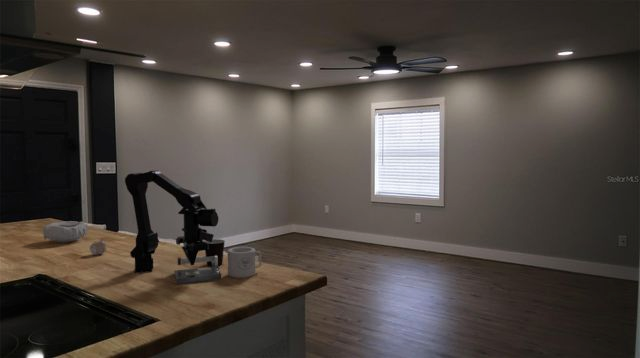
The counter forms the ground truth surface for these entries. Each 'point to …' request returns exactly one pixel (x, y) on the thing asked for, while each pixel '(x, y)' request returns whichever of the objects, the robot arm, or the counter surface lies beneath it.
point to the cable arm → (201, 260)
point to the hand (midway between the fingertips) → (192, 265)
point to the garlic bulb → (98, 247)
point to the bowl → (65, 231)
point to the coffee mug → (215, 250)
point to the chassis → (197, 275)
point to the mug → (242, 262)
